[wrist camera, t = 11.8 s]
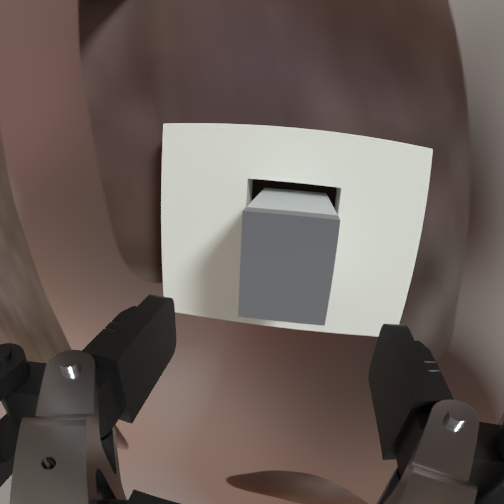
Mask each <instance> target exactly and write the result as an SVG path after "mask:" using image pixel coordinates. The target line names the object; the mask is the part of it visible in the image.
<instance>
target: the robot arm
mask: <svg viewBox="0 0 504 504" xmlns="http://www.w3.org/2000/svg"><path fill="white" fill-rule="evenodd" d="M175 347H176V326H175V306H174V301H173V299H172V298H169V297H163V296H157V295H151V294H150V295H148V296H147V297H146V298H145V299H144V300H143V302H142V303H141V304H139V305H138V307H136V306H133V307H131V308H129V309H126V310H125V311H122V312H121V313H120V314H118V316H116V317H115V318H114V320H112V322H110V323H109V324H108V325H107V326H106V328H105V329H103V330H102V331H101V332H100V333H99V334H98V335H97V336H96V337H95V338H94V339H93V340H92V341H91V342H90V343H89V344H88V345H87V346H86V347H85V349H83V350H82V351H80V350H68V351H63V352H60V353H58V354H56V355H54V356H53V357H52V358H51V359H50V360H49V361H48V362H47V363H38V362H29V361H27V359H26V356H25V353H24V350H23V349H22V347H20V346H19V345H17V344H12V343H6V344H1V345H0V401H1V402H2V404H3V406H4V408H5V410H6V412H7V414H6V415H5V416H4V417H3V418H1V419H0V487H1V486H2V485H3V483H4V482H5V481H6V480H7V479H8V478H9V476H11V475H12V482H11V493H10V504H179V503H175V502H172V501H168V500H165V499H161V498H158V497H155V496H152V495H149V494H146V493H143V492H140V491H136V490H133V492H132V494H131V496H130V498H129V500H126V497H125V494H124V491H123V488H122V483H121V478H120V470H119V461H118V452H117V442H116V432H115V428H114V425H115V424H116V422H117V421H118V419H120V420H123V421H126V422H129V423H133V421H134V419H135V417H136V416H137V414H138V412H139V411H140V409H141V408H142V406H143V404H144V403H145V400H146V399H147V398H148V396H149V394H150V393H151V391H152V389H153V388H154V386H155V384H156V383H157V381H158V379H159V378H160V376H161V375H162V373H163V371H164V370H165V368H166V366H167V364H168V363H169V361H170V360H171V358H172V356H173V354H174V351H175ZM369 385H370V390H371V395H372V400H373V405H374V410H375V416H376V421H377V426H378V432H379V438H380V444H381V450H382V456H383V460H387V459H388V460H389V459H397V465H398V466H397V468H396V469H395V471H394V472H393V474H392V476H391V478H390V480H389V482H388V484H387V486H386V487H385V490H384V491H383V493H382V495H381V497H380V499H379V501H378V502H377V504H504V422H503V423H502V425H496V424H489V423H483V422H479V418H478V416H477V414H476V412H475V411H474V410H473V409H472V408H471V407H470V406H468V405H467V404H465V403H463V402H460V401H457V400H454V399H453V397H452V395H451V393H450V390H449V388H448V386H447V384H446V382H445V380H444V378H443V376H442V374H441V372H439V368H438V365H437V363H435V359H434V358H433V356H432V354H431V352H430V350H429V349H428V348H427V347H426V346H424V345H423V344H422V343H421V342H420V341H414V339H413V337H412V335H411V332H410V330H409V328H408V327H407V326H406V325H397V324H383V326H382V327H381V330H380V333H379V337H378V341H377V343H376V347H375V350H374V353H373V357H372V360H371V363H370V367H369Z"/></svg>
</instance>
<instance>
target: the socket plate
mask: <svg viewBox="0 0 504 504" xmlns="http://www.w3.org/2000/svg"><path fill="white" fill-rule="evenodd" d="M432 153H433V149H430V148H426V147H421V146H416V145H411V144H406V143H401V142H395V141H390V140H384V139H378V138H372V137H366V136H359V135H352V134H345V133H337V132H329V131H321V130H312V129H302V128H291V127H278V126H264V125H245V124H215V123H170V124H163V142H162V172H161V245H162V276H163V296H164V297H169V298H172V299H173V301H174V306H175V312H177V313H182V314H189V315H195V316H201V317H207V318H214V319H221V320H227V321H234V322H241V323H249V324H256V325H264V326H273V327H281V328H289V329H298V330H308V331H318V332H328V333H339V334H351V335H365V336H378V337H379V333H380V330H381V327H382V326H383V324H397V325H399V322H400V319H401V316H402V312H403V308H404V305H405V301H406V297H407V294H408V290H409V286H410V282H411V278H412V273H413V269H414V265H415V260H416V256H417V251H418V246H419V241H420V236H421V231H422V225H423V220H424V214H425V208H426V201H427V195H428V187H429V180H430V172H431V163H432ZM253 179H260V180H271V181H282V182H293V183H303V184H312V185H321V186H329V187H337V190H336V199H335V207H334V209H335V211H336V213H337V215H338V216H339V218H340V227H339V235H338V243H337V251H336V258H335V265H334V272H333V278H332V285H331V291H330V297H329V303H328V309H327V315H326V321H325V326H323V325H312V324H301V323H291V322H281V321H272V320H263V319H255V318H246V317H238V307H239V281H240V257H241V234H242V212H243V210H244V209H245V208H246V207H247V206H248V205H249V204H250V203H251V202H252V188H253Z"/></svg>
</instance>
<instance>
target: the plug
mask: <svg viewBox="0 0 504 504" xmlns="http://www.w3.org/2000/svg"><path fill="white" fill-rule="evenodd" d="M339 227H340V218H339V216H338V215H337V213H336V211H335V209H334V207H333V205H332V203H331V201H330V199H329V198H328V196H327V194H326V193H321V192H311V191H300V190H289V189H277V188H264V189H263V190H262V191H261V192H260V193H259V194H258V195H257V196H256V197H255V198H254V199H253V201H252V202H251V203H250V204H249V205H248V206H247V207H246V208H245V209H244V210H243V212H242V234H241V257H240V281H239V307H238V317H246V318H255V319H263V320H272V321H281V322H291V323H301V324H312V325H323V326H325V321H326V315H327V309H328V303H329V297H330V291H331V285H332V278H333V272H334V265H335V258H336V251H337V243H338V235H339Z"/></svg>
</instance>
